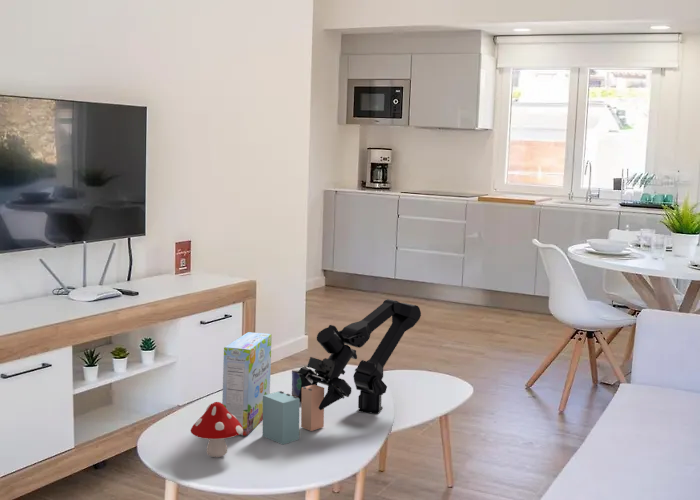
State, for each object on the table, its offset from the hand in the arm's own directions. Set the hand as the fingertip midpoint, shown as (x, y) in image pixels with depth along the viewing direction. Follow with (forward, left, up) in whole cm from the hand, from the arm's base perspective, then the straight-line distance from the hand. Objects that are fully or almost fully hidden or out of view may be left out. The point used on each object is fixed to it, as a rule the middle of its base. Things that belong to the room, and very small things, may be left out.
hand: (309, 405), depth 240 cm
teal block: (+5, +9, -7) cm, 13 cm away
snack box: (+19, +1, -7) cm, 20 cm away
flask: (+11, -29, -7) cm, 32 cm away
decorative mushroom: (+17, +27, -7) cm, 33 cm away
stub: (-1, -1, -7) cm, 7 cm away
